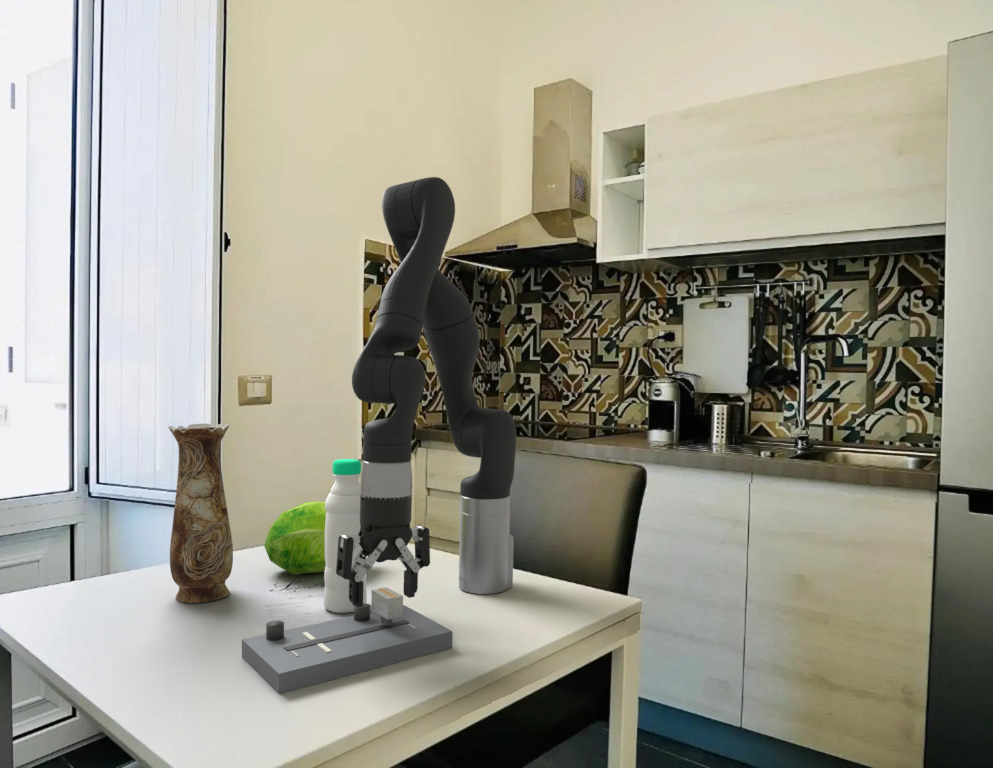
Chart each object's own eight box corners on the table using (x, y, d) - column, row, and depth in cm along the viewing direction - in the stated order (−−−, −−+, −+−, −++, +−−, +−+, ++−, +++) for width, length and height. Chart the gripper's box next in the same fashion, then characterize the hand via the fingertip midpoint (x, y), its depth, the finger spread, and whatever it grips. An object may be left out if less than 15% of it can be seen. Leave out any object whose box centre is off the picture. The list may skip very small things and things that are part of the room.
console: (403, 620, 119) (404, 592, 119) (452, 647, 108) (452, 617, 108) (241, 656, 103) (241, 624, 103) (278, 693, 92) (279, 657, 92)
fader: (386, 617, 112) (386, 586, 112) (402, 627, 108) (403, 595, 108) (371, 620, 110) (371, 589, 110) (387, 630, 106) (387, 598, 106)
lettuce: (373, 578, 142) (374, 508, 141) (263, 586, 136) (264, 512, 136) (363, 558, 156) (364, 494, 156) (264, 564, 151) (264, 497, 150)
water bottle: (356, 616, 121) (358, 463, 120) (316, 612, 122) (318, 461, 121) (372, 602, 128) (374, 458, 127) (334, 599, 129) (336, 456, 128)
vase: (206, 608, 123) (207, 428, 123) (154, 601, 126) (154, 426, 126) (245, 590, 133) (246, 424, 132) (195, 584, 136) (196, 421, 136)
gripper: (415, 484, 116) (412, 587, 116) (330, 491, 108) (327, 602, 108) (441, 491, 110) (438, 600, 110) (353, 499, 102) (350, 616, 102)
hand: (383, 600), depth 109 cm, fingers open, 8 cm apart
